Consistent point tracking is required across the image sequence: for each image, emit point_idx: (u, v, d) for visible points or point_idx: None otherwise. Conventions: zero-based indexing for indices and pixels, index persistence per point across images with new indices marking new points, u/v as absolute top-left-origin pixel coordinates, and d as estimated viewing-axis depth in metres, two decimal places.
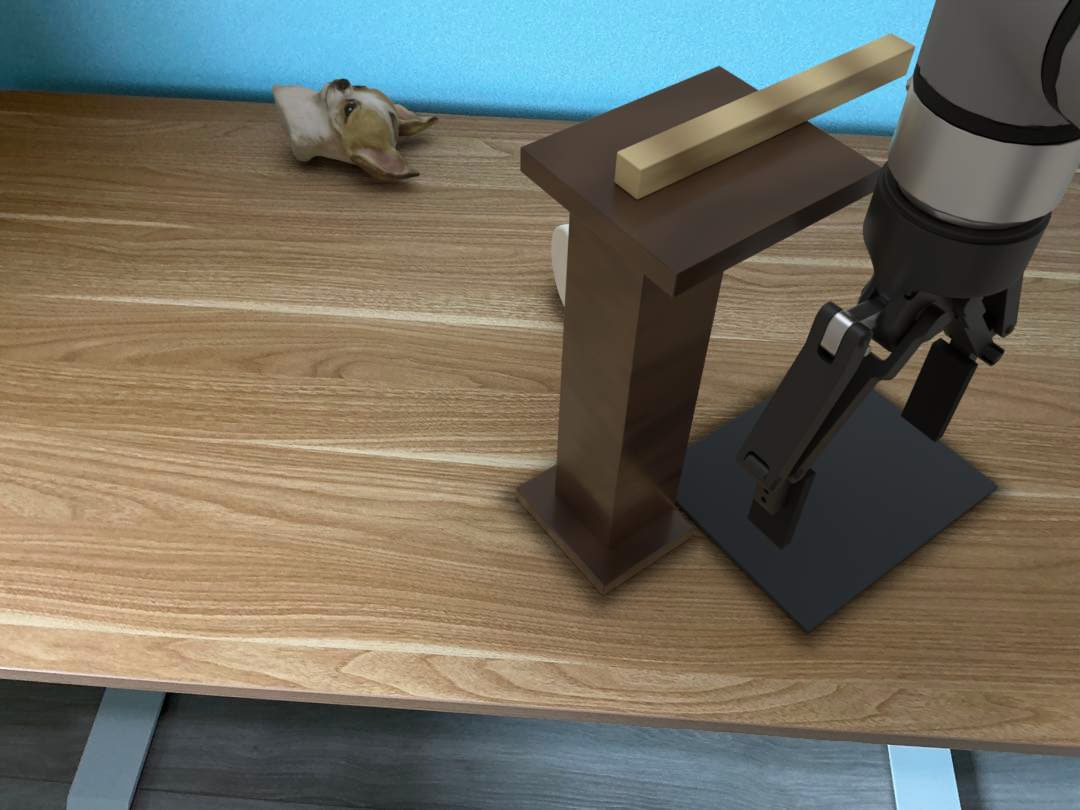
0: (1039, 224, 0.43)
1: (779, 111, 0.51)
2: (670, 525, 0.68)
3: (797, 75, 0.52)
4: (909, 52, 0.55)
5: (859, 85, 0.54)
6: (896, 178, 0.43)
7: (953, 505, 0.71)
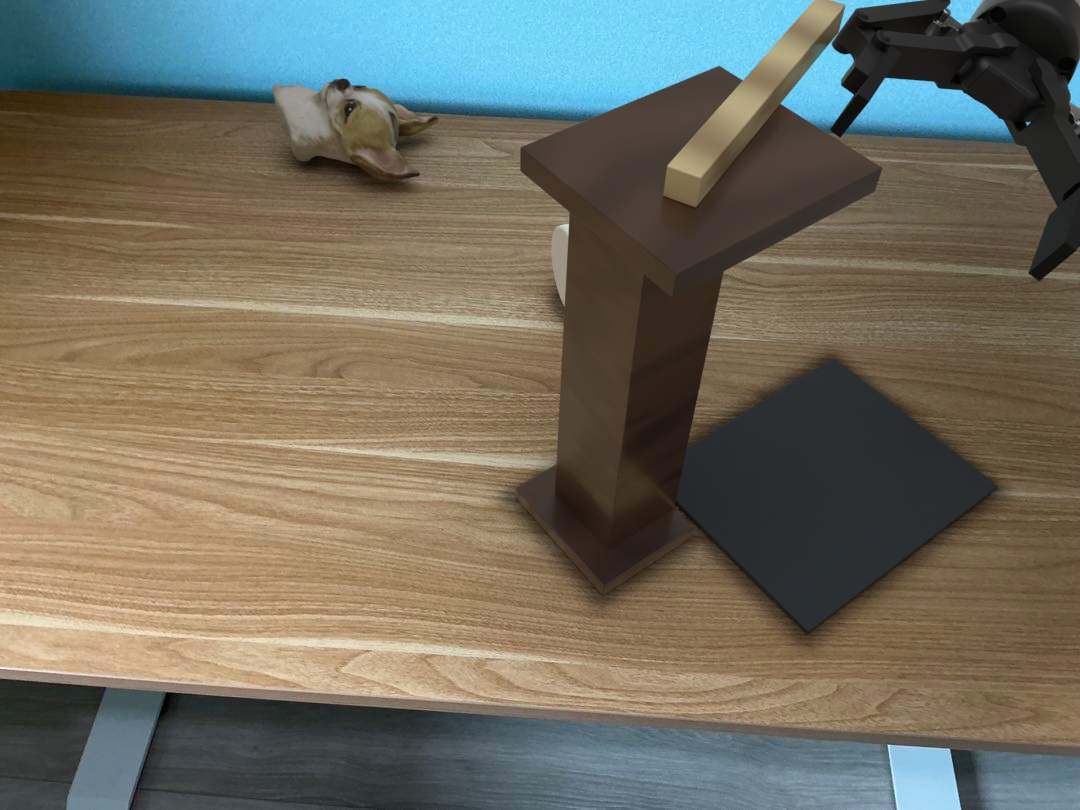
0: None
1: (776, 91, 0.52)
2: (670, 525, 0.68)
3: (769, 53, 0.54)
4: (842, 11, 0.58)
5: (816, 51, 0.56)
6: None
7: (953, 505, 0.71)
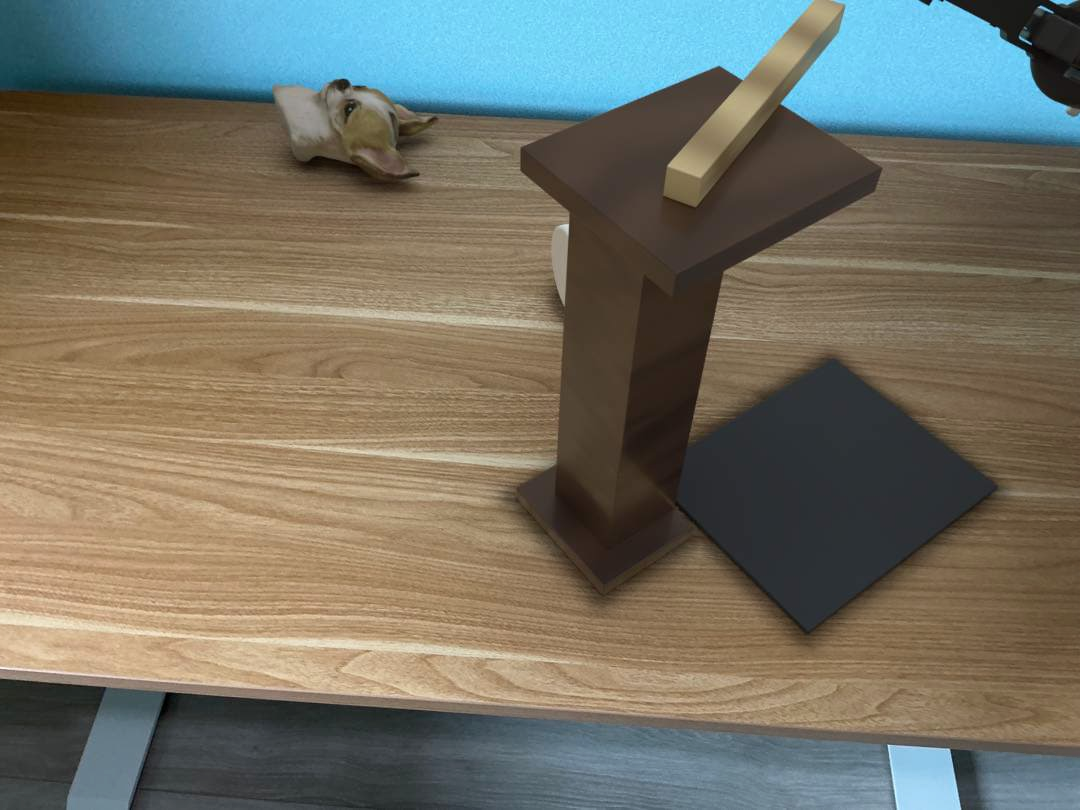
0: None
1: (776, 91, 0.52)
2: (670, 525, 0.68)
3: (769, 53, 0.54)
4: (842, 11, 0.58)
5: (816, 51, 0.56)
6: None
7: (953, 505, 0.71)
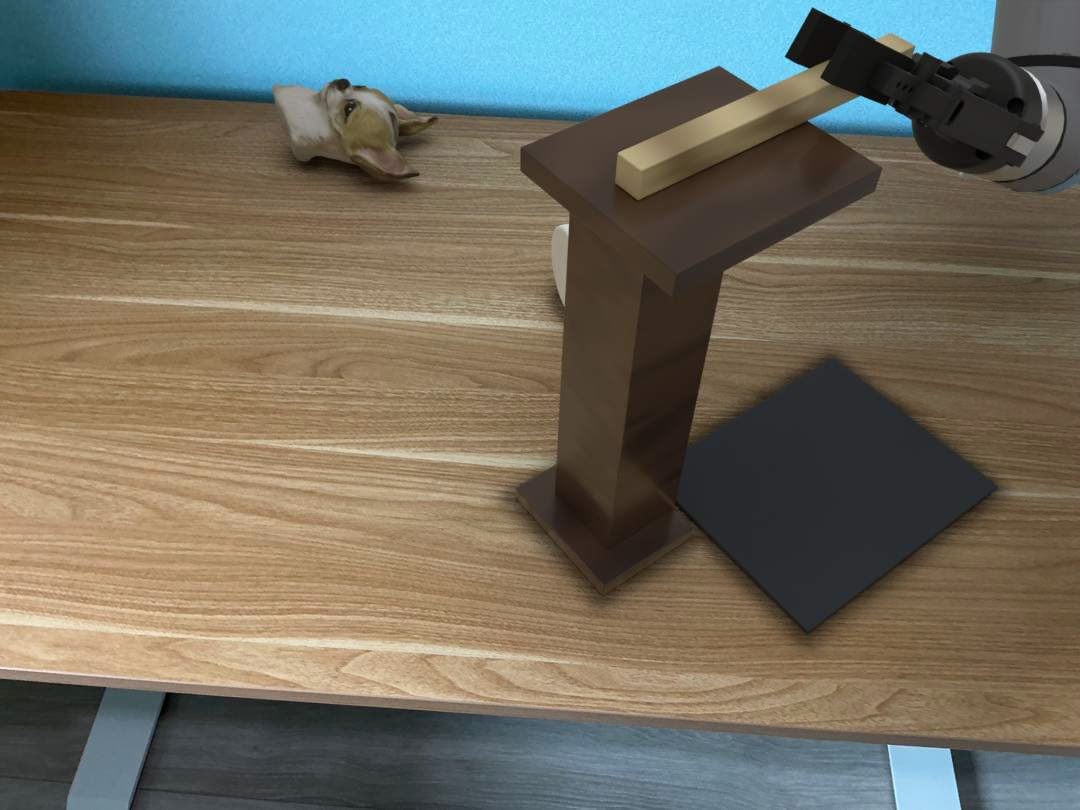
0: None
1: (780, 111, 0.51)
2: (670, 525, 0.68)
3: (797, 75, 0.52)
4: (909, 51, 0.55)
5: None
6: None
7: (953, 505, 0.71)
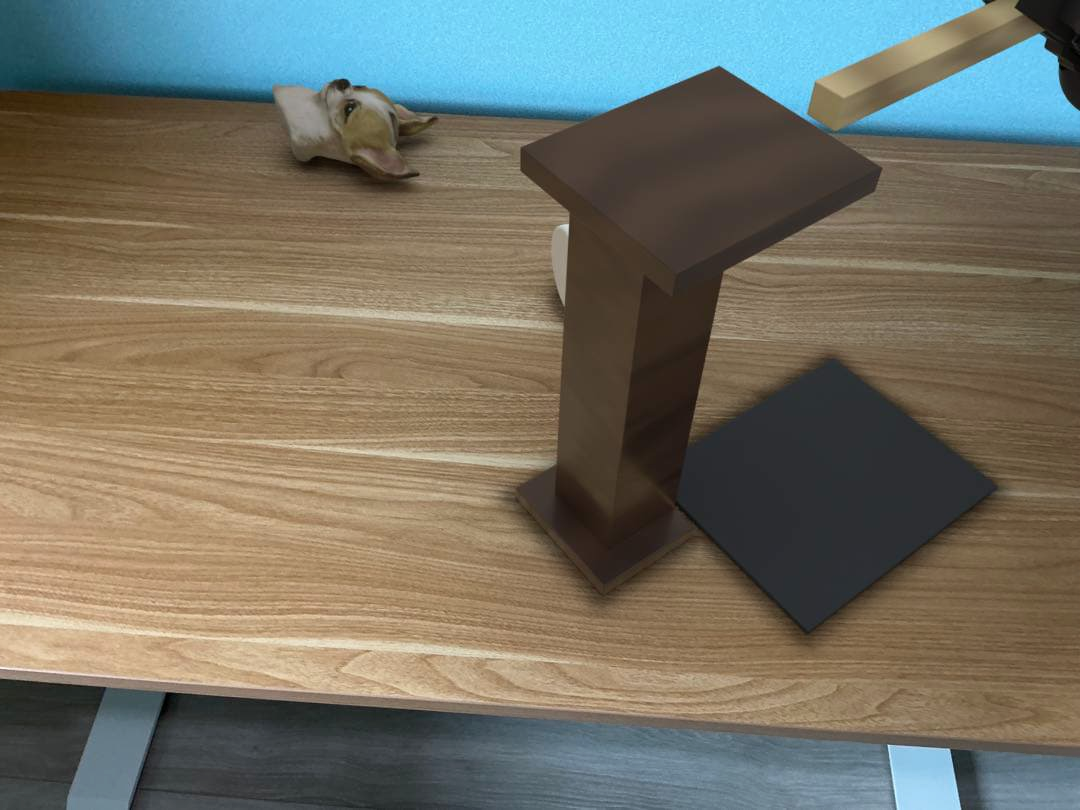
0: None
1: (973, 42, 0.48)
2: (670, 525, 0.68)
3: (984, 7, 0.50)
4: None
5: None
6: None
7: (953, 505, 0.71)
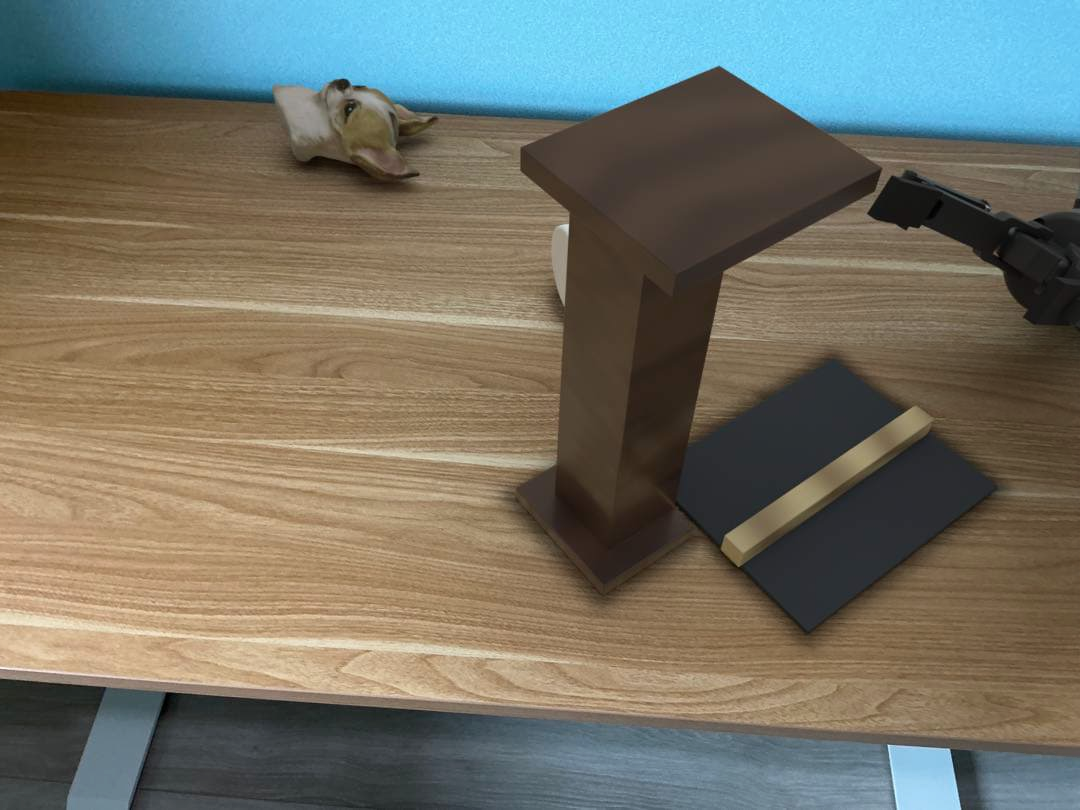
0: None
1: (837, 489, 0.70)
2: (670, 525, 0.68)
3: (848, 453, 0.72)
4: (929, 424, 0.74)
5: (893, 453, 0.73)
6: None
7: (953, 505, 0.71)
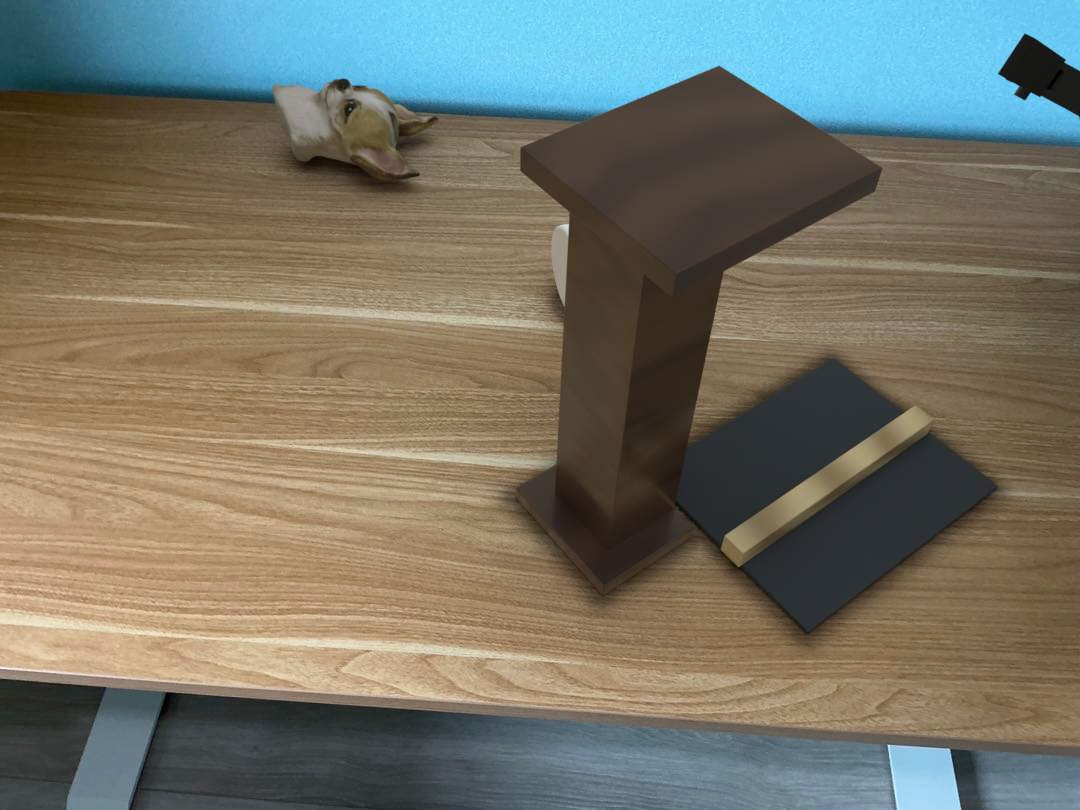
0: None
1: (837, 489, 0.70)
2: (670, 525, 0.68)
3: (848, 453, 0.72)
4: (929, 424, 0.74)
5: (893, 453, 0.73)
6: None
7: (953, 505, 0.71)
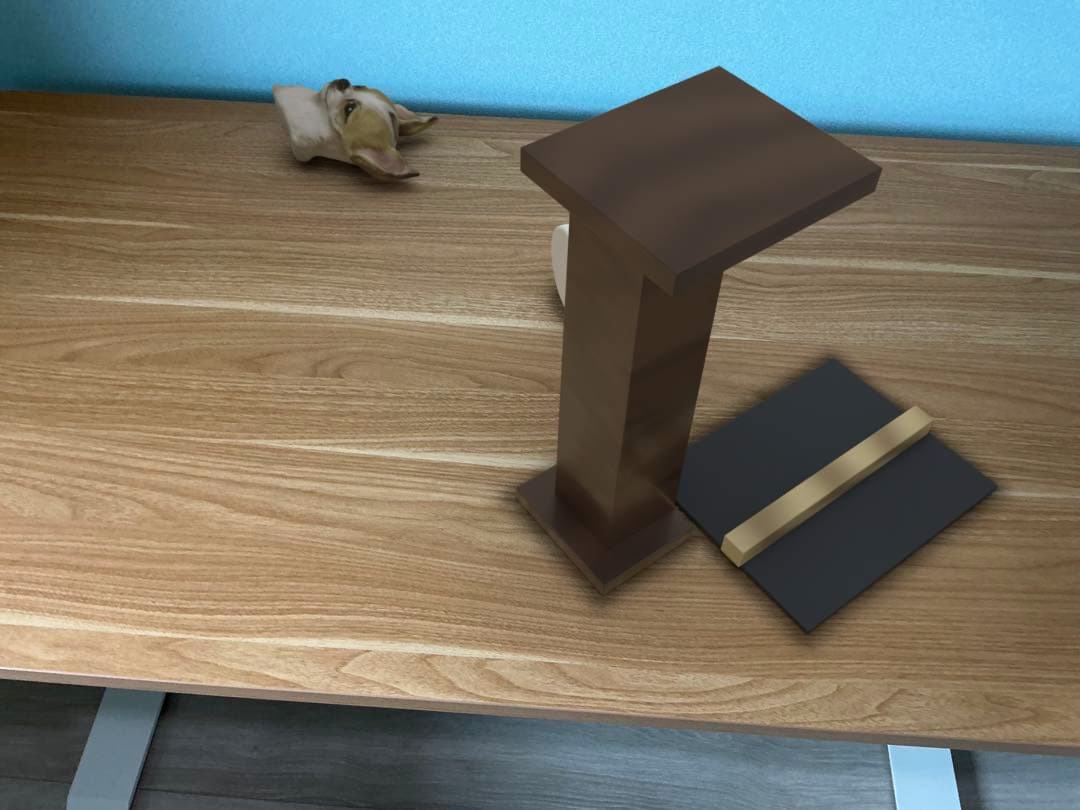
0: None
1: (837, 489, 0.70)
2: (670, 525, 0.68)
3: (848, 453, 0.72)
4: (929, 424, 0.74)
5: (893, 453, 0.73)
6: None
7: (953, 505, 0.71)
